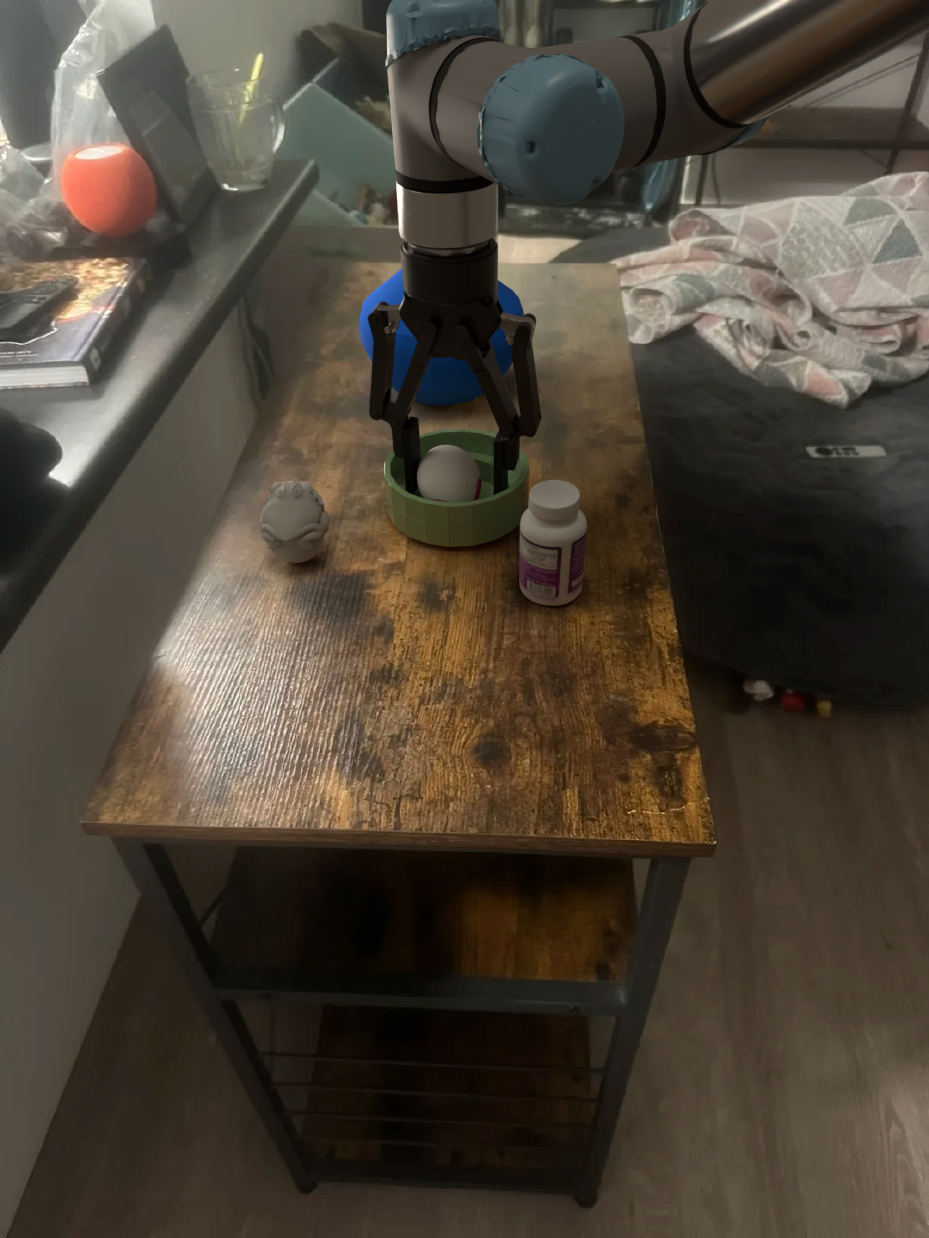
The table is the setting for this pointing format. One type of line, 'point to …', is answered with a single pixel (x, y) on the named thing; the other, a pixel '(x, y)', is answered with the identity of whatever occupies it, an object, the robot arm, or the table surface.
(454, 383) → the vase
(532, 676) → the table surface
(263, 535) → the frog figurine
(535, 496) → the pill bottle
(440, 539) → the green bowl
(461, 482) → the stress ball
